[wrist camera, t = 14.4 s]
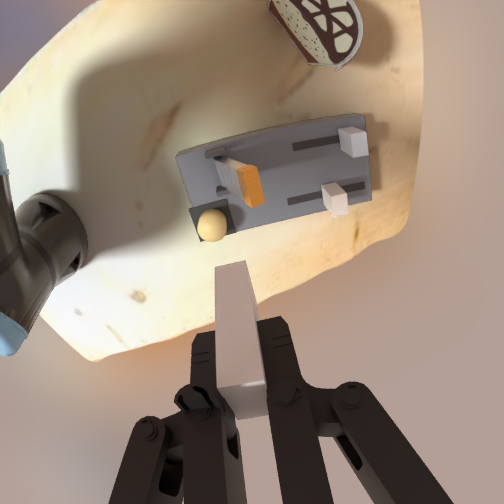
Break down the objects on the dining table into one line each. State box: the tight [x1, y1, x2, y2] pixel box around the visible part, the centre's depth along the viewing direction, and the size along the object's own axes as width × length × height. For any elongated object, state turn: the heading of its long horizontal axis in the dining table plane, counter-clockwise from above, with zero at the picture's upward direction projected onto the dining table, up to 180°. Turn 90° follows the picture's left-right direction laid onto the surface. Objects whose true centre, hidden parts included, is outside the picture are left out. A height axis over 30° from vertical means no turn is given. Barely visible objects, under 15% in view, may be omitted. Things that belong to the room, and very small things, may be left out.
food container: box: [267, 0, 363, 71], centre depth 23 cm, size 12×6×10 cm, turn 34°
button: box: [197, 209, 227, 242], centre depth 36 cm, size 4×4×2 cm
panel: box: [175, 113, 372, 242], centre depth 36 cm, size 24×12×5 cm, turn 103°
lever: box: [213, 155, 265, 208], centre depth 30 cm, size 1×4×10 cm, turn 14°
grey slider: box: [338, 126, 369, 158], centre depth 31 cm, size 2×3×4 cm
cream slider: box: [321, 182, 348, 218], centre depth 35 cm, size 2×3×4 cm
